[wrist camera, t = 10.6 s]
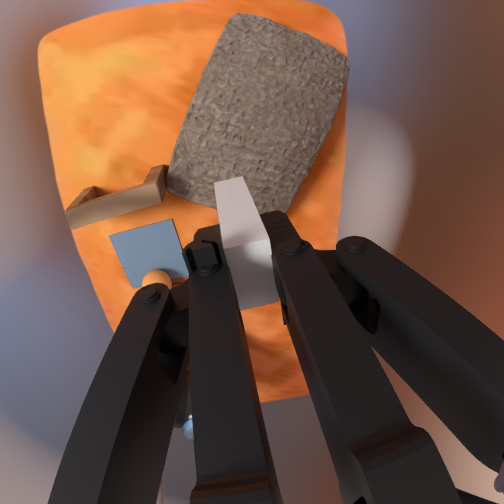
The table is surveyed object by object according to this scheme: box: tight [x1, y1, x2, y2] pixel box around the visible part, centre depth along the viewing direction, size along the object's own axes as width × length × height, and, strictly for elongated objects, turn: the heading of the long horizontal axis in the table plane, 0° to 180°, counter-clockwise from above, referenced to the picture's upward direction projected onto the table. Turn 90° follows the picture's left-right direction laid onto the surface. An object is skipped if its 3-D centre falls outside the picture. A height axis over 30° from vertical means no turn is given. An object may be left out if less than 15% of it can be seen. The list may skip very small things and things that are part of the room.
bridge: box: [64, 164, 167, 230], centre depth 42 cm, size 3×14×9 cm, turn 99°
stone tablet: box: [166, 13, 350, 214], centre depth 41 cm, size 20×8×30 cm
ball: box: [142, 270, 172, 290], centre depth 53 cm, size 6×6×6 cm
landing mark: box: [109, 219, 189, 289], centre depth 53 cm, size 12×12×1 cm
